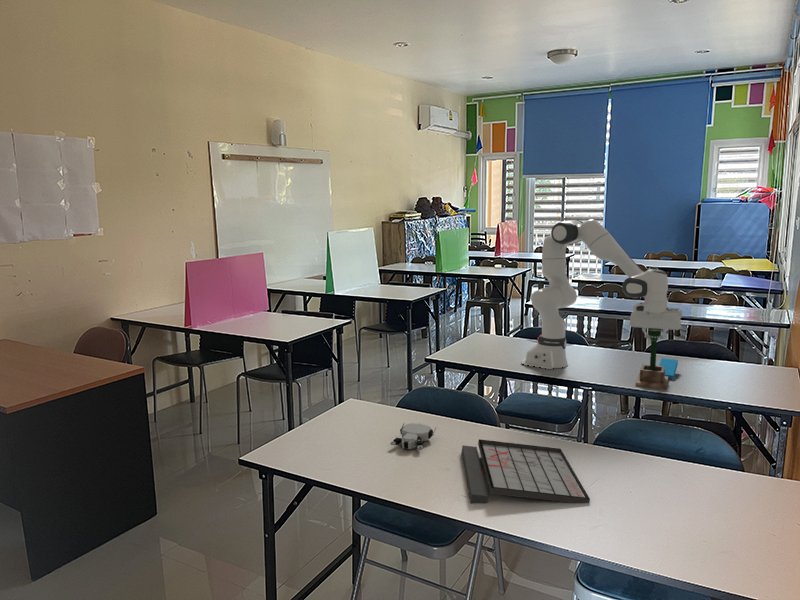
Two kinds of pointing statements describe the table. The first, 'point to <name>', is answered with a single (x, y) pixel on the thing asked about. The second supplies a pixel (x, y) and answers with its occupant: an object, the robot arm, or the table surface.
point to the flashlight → (653, 345)
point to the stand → (652, 377)
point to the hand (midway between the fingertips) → (654, 338)
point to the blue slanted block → (669, 367)
